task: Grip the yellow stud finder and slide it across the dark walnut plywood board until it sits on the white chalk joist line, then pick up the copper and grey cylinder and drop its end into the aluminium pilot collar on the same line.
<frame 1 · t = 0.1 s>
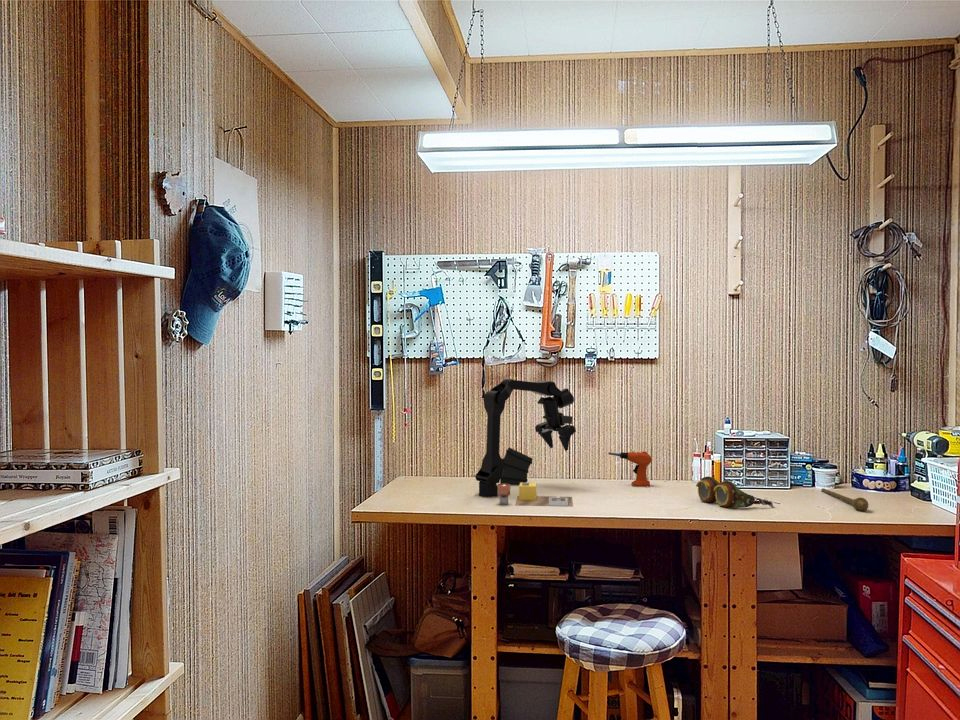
hand: (559, 449, 280), 15 cm above the workbench, fingers open, 9 cm apart
pilot collar: (558, 503, 246), resting on plywood board
stud finder: (527, 498, 255), point 1 cm above the workbench, touching plywood board
copper and grey cylinder: (503, 507, 246), on the workbench
goggles: (735, 504, 251), on the workbench
ball headed mace: (842, 502, 253), on the workbench
plywood board: (544, 504, 251), on the workbench
toy drill: (629, 485, 285), on the workbench
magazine: (516, 485, 288), on the workbench
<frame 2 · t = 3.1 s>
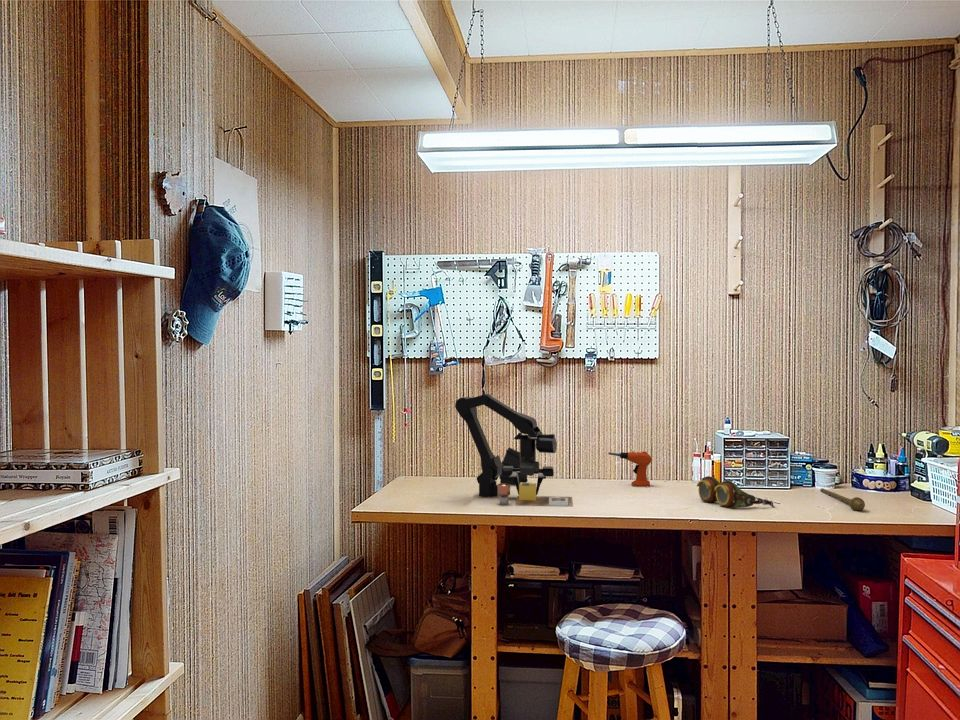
hand: (527, 494, 255), 2 cm above the workbench, fingers closed on stud finder, 6 cm apart
stud finder: (527, 498, 255), point 1 cm above the workbench, touching gripper, plywood board
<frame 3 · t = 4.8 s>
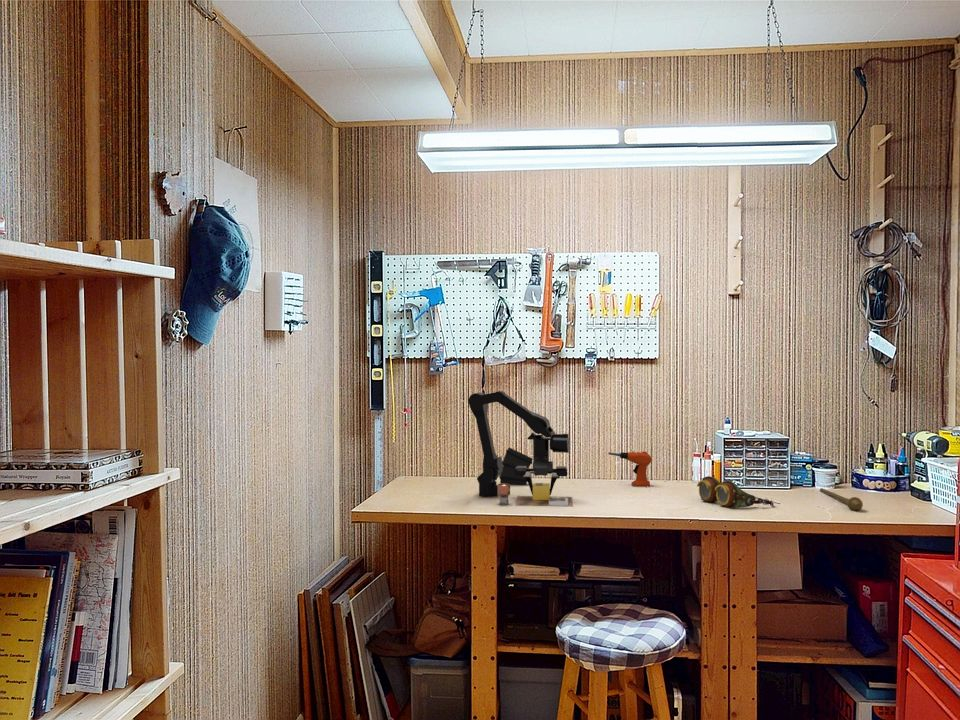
hand: (541, 494, 255), 3 cm above the workbench, fingers closed on stud finder, 6 cm apart
stud finder: (541, 498, 255), point 1 cm above the workbench, touching gripper
when the fingers open (2 cm above the workbench, at t = 6.7 s): stud finder stays where it is, resting on plywood board.
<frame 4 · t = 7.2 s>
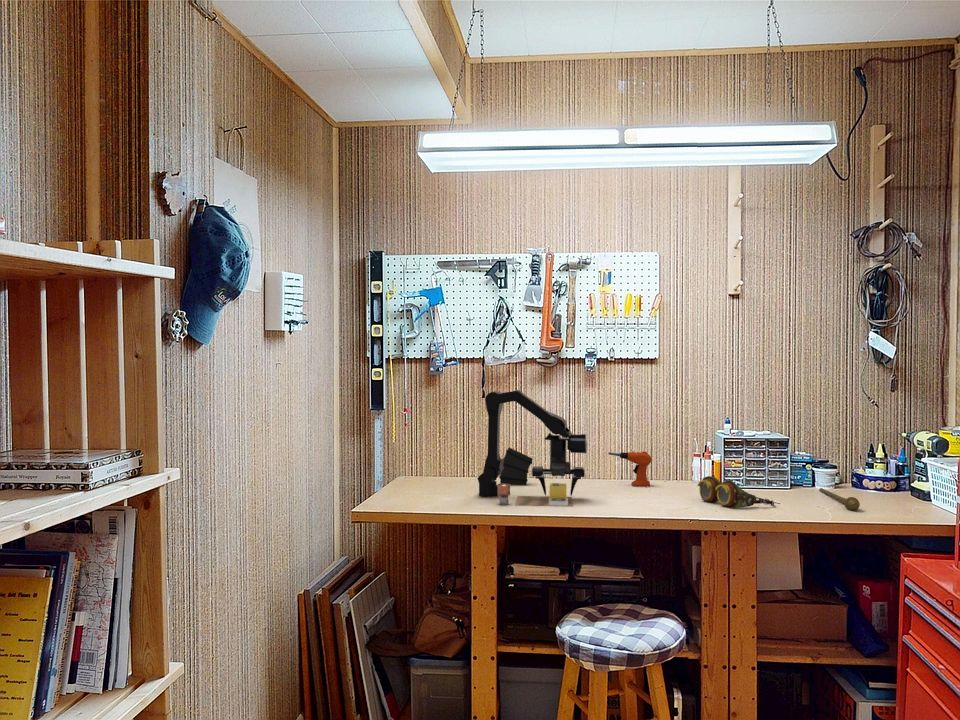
hand: (558, 495, 254), 2 cm above the workbench, fingers open, 9 cm apart
stud finder: (557, 498, 254), point 1 cm above the workbench, touching plywood board
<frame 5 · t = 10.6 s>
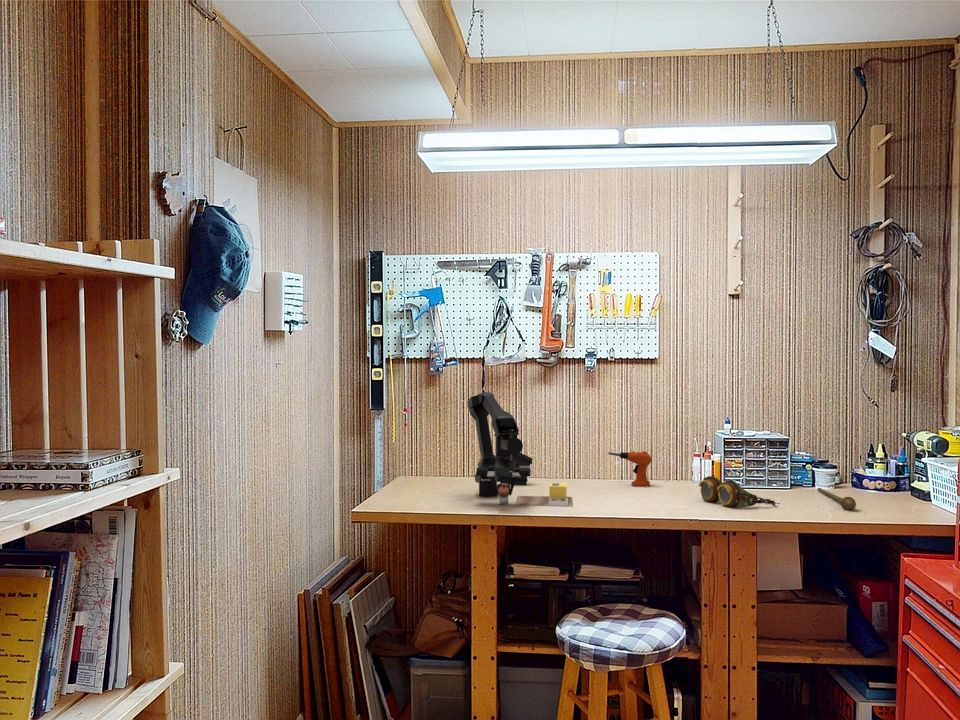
hand: (503, 495, 246), 4 cm above the workbench, fingers closed on copper and grey cylinder, 4 cm apart
copper and grey cylinder: (503, 507, 246), on the workbench, touching gripper
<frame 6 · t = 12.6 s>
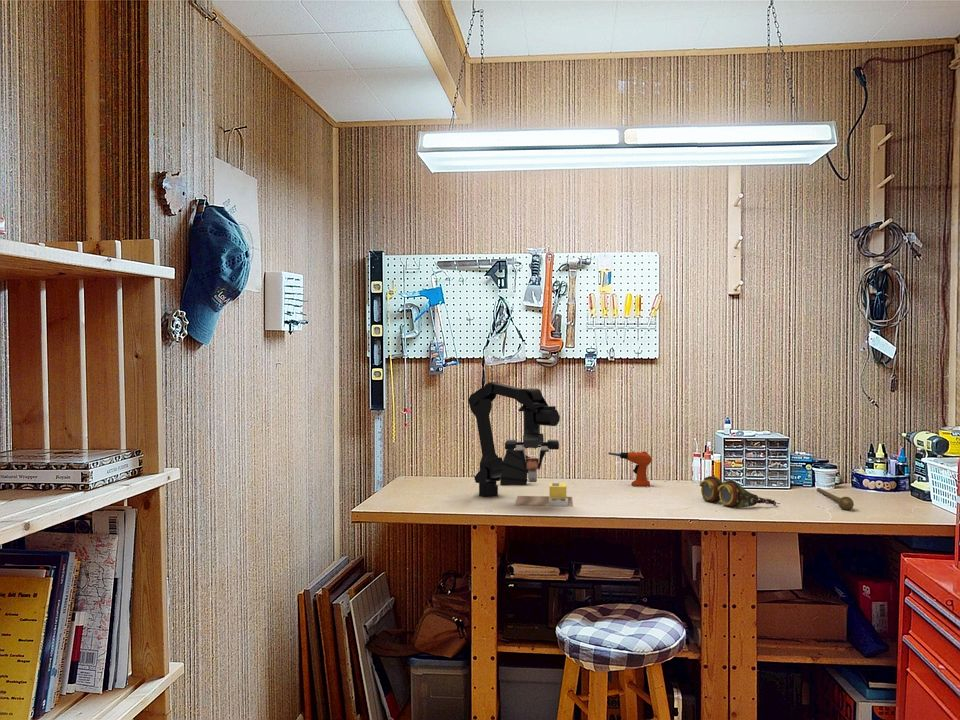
hand: (532, 469, 245), 13 cm above the workbench, fingers closed on copper and grey cylinder, 4 cm apart
copper and grey cylinder: (532, 481, 245), point 9 cm above the workbench, touching gripper
when the fingers open (6 cm above the workbench, at t = 14.8 s): copper and grey cylinder stays where it is, resting on plywood board.
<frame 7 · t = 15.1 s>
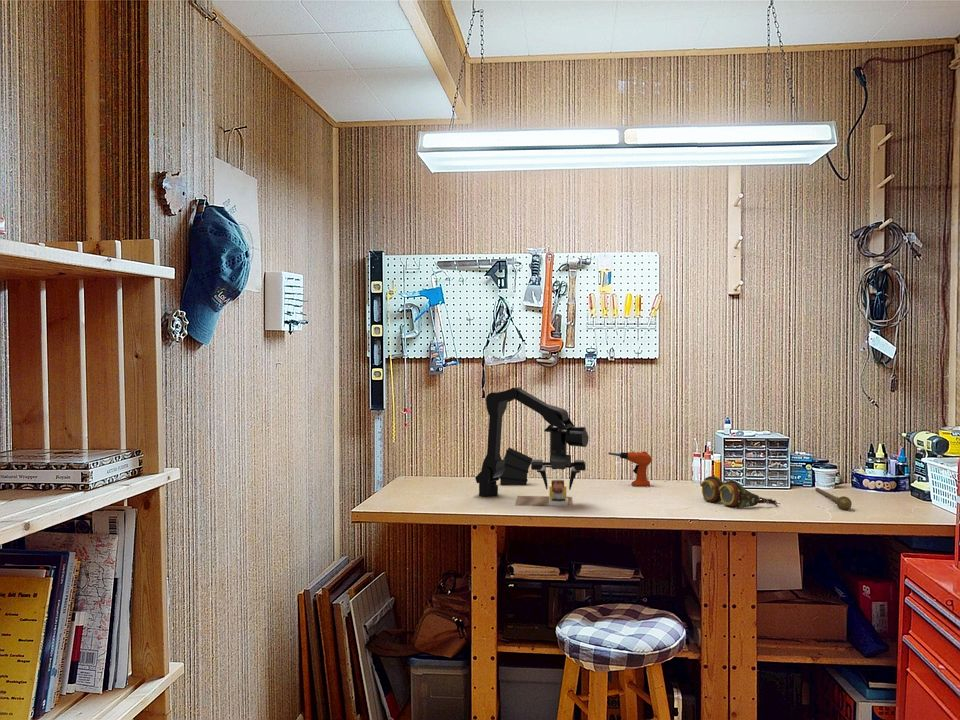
hand: (558, 489, 246), 6 cm above the workbench, fingers open, 8 cm apart
copper and grey cylinder: (558, 503, 246), point 1 cm above the workbench, touching plywood board
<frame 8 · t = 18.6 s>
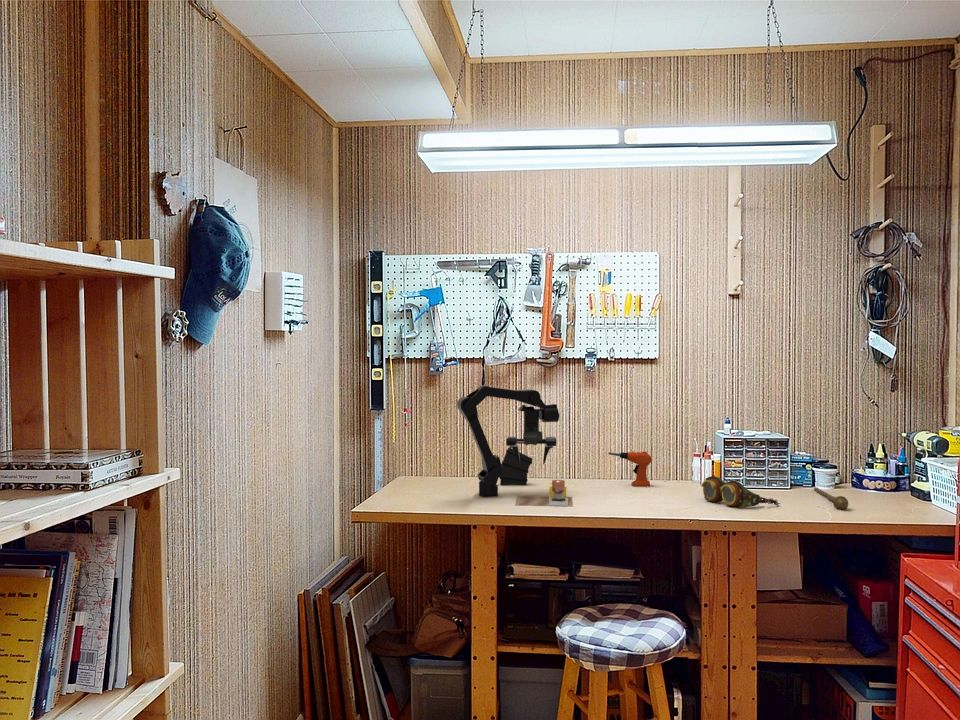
hand: (531, 464, 265), 12 cm above the workbench, fingers open, 9 cm apart
at the end: stud finder 0.1 cm from the target spot, point 1.3 cm above the workbench; copper and grey cylinder 0.1 cm from the target spot, point 1.3 cm above the workbench; copper and grey cylinder tilted 0° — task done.
